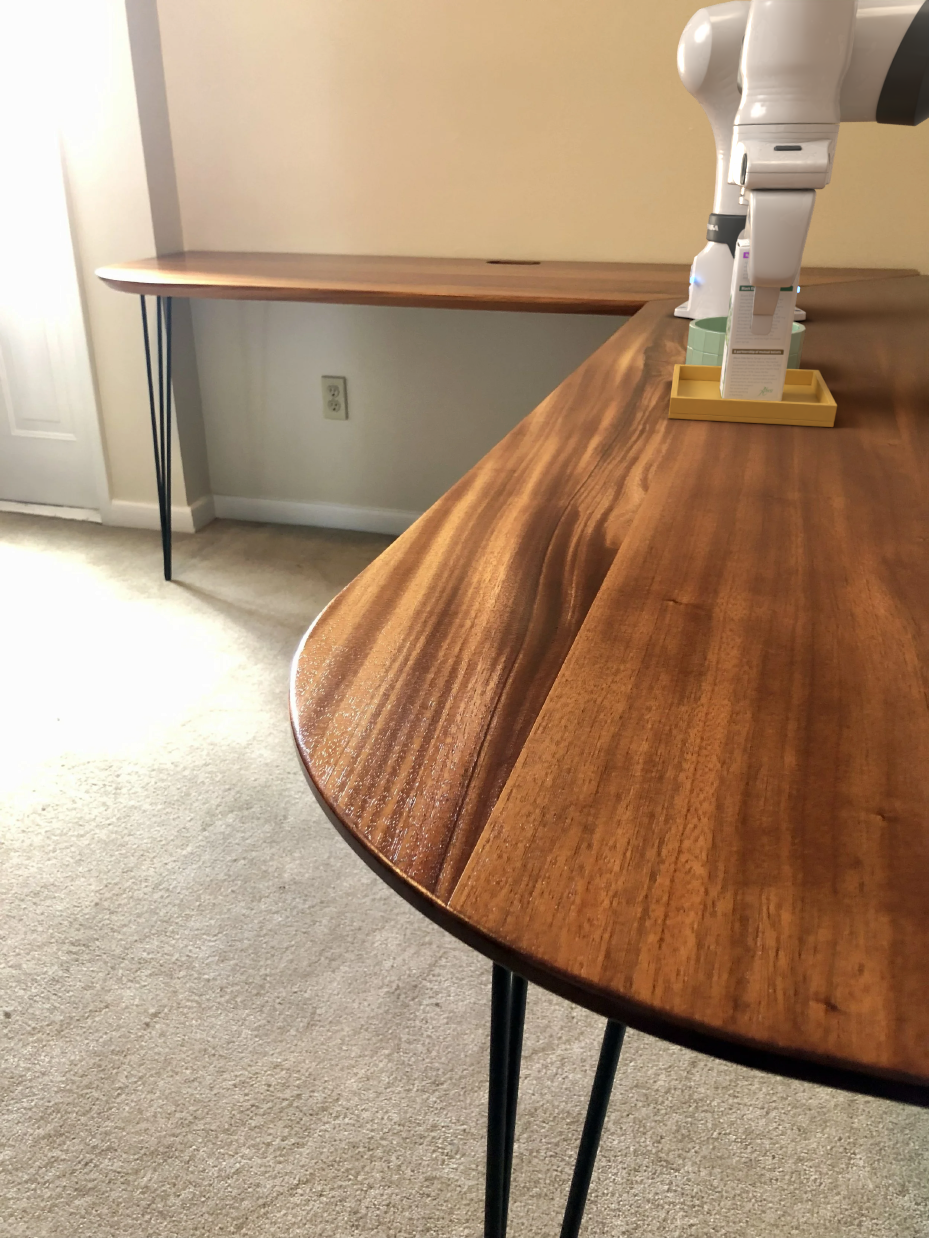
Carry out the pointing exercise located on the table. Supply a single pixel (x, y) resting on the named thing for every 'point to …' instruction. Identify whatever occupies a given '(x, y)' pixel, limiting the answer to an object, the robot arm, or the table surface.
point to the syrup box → (755, 339)
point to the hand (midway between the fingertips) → (757, 325)
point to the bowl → (710, 342)
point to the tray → (799, 405)
